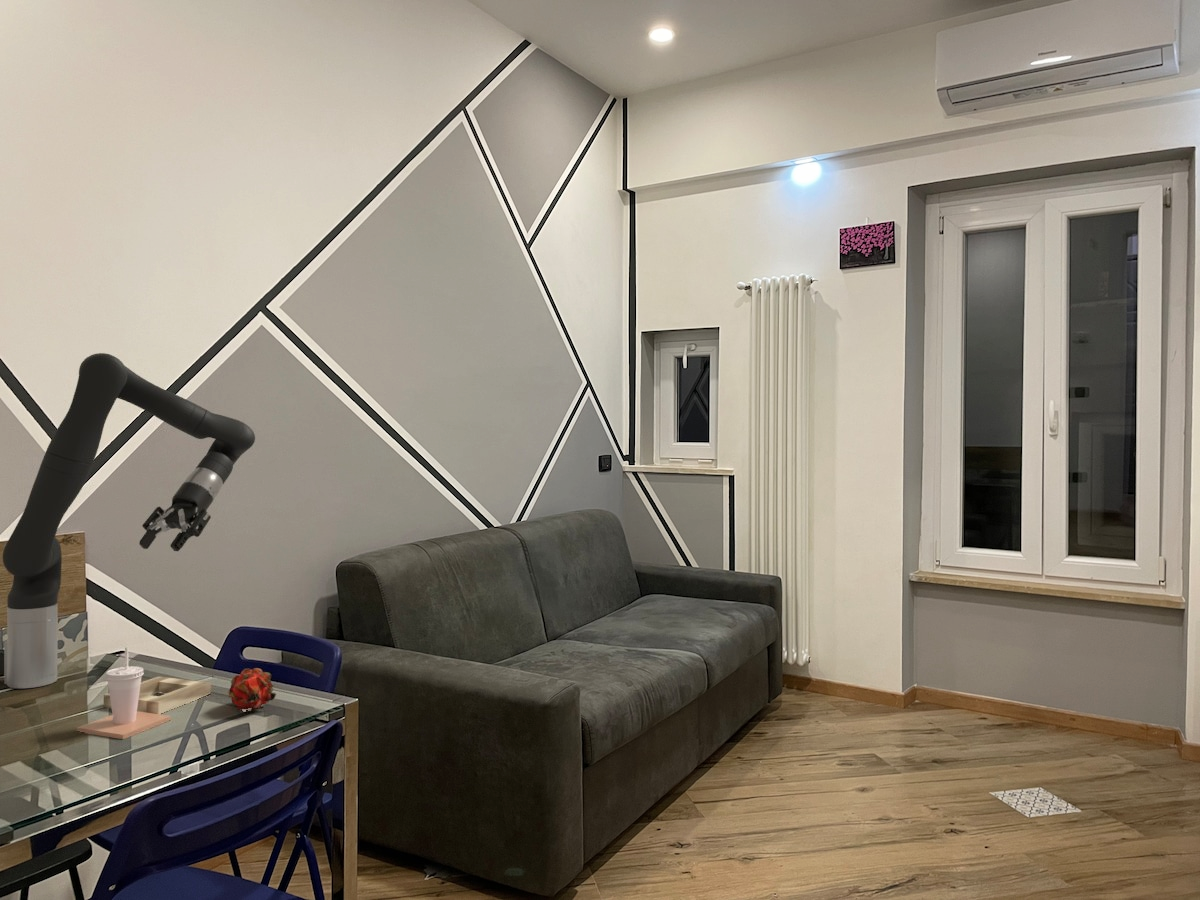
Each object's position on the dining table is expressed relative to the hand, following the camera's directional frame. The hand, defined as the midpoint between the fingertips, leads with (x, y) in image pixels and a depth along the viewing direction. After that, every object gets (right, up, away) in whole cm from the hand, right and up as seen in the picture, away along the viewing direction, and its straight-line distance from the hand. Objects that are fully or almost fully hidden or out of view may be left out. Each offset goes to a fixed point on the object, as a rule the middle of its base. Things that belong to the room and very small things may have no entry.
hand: (158, 547), depth 186 cm
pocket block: (+4, -31, -8) cm, 32 cm away
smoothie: (+5, -31, -23) cm, 38 cm away
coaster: (+6, -31, -23) cm, 39 cm away
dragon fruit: (+25, -32, -11) cm, 42 cm away
